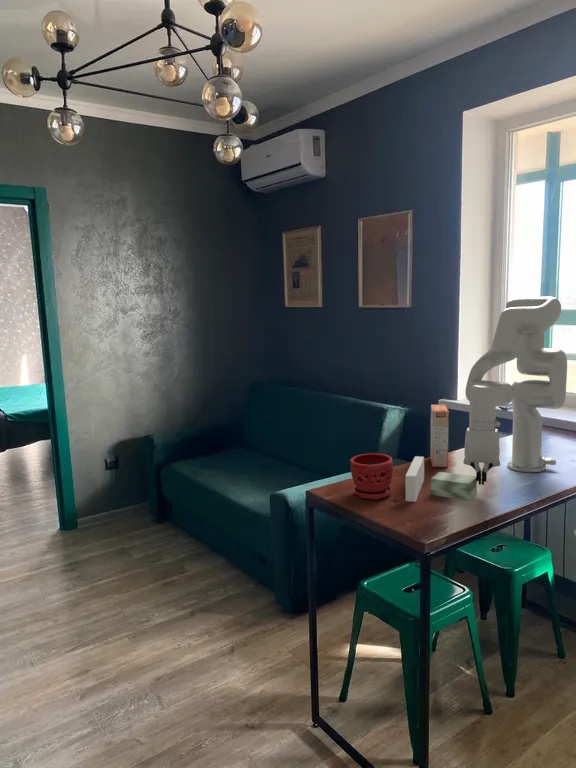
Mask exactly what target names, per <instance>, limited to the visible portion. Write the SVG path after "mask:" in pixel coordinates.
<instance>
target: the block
mask: <svg viewBox="0 0 576 768" xmlns="http://www.w3.org/2000/svg"><path fill="white" fill-rule="evenodd" d="M477 491H478V481H476V475H467V474H460V473H453V472H452V473H451V472H445V471H438V472H437V473H436V474H435V475H434V476H432V477H431V478H430V495H431V496H438V497H444V498H449V499H458V500H463V501H464V500H465V501H469V502H470V501H471V500H472V499H473V498H474V496H475V495H476V494H477V493H478V492H477Z"/></svg>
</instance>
